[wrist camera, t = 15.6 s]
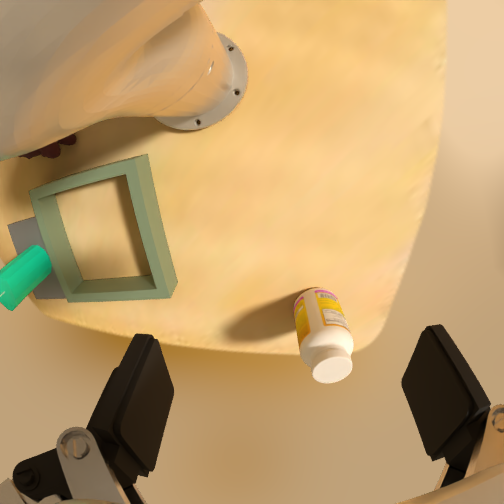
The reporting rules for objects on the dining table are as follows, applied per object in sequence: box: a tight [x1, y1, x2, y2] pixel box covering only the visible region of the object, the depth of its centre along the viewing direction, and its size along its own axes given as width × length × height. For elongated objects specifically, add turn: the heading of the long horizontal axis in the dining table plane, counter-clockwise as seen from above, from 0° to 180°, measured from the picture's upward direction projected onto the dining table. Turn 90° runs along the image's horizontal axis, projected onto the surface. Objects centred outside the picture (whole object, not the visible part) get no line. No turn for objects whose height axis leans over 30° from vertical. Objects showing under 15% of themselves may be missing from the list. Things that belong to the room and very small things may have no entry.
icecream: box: [19, 134, 76, 159], centre depth 27 cm, size 7×7×15 cm
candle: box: [0, 245, 52, 311], centre depth 33 cm, size 6×6×12 cm
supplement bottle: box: [293, 288, 354, 383], centre depth 35 cm, size 7×7×13 cm
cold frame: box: [29, 154, 178, 302], centre depth 35 cm, size 18×18×4 cm
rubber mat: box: [7, 217, 66, 299], centre depth 39 cm, size 15×11×1 cm
